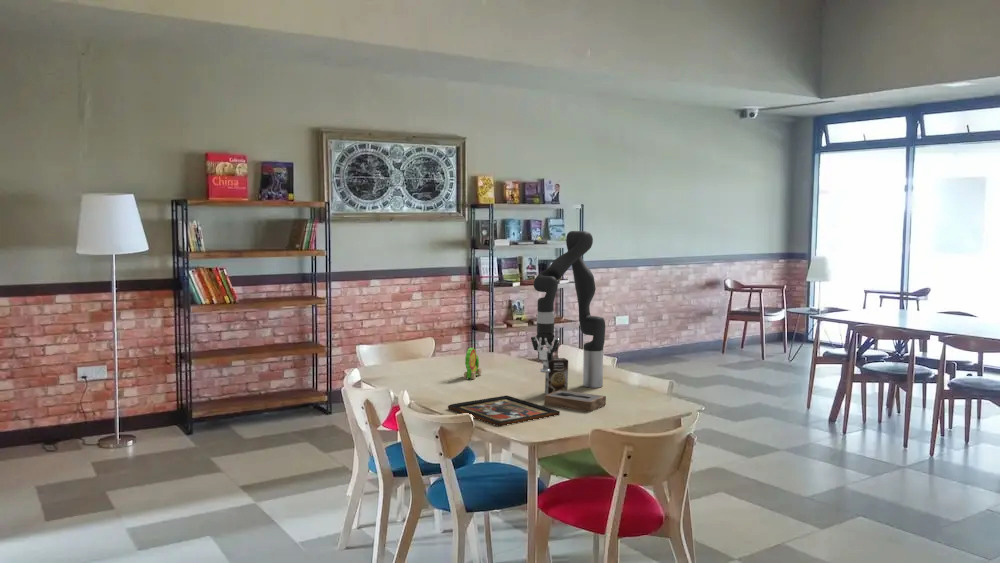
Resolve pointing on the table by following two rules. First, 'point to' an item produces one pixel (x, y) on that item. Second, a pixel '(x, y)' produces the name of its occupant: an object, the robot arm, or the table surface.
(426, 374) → the table surface
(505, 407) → the framed painting
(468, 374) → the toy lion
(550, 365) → the coffee box
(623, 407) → the table surface
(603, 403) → the keyhole box
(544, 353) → the keyhole stud
